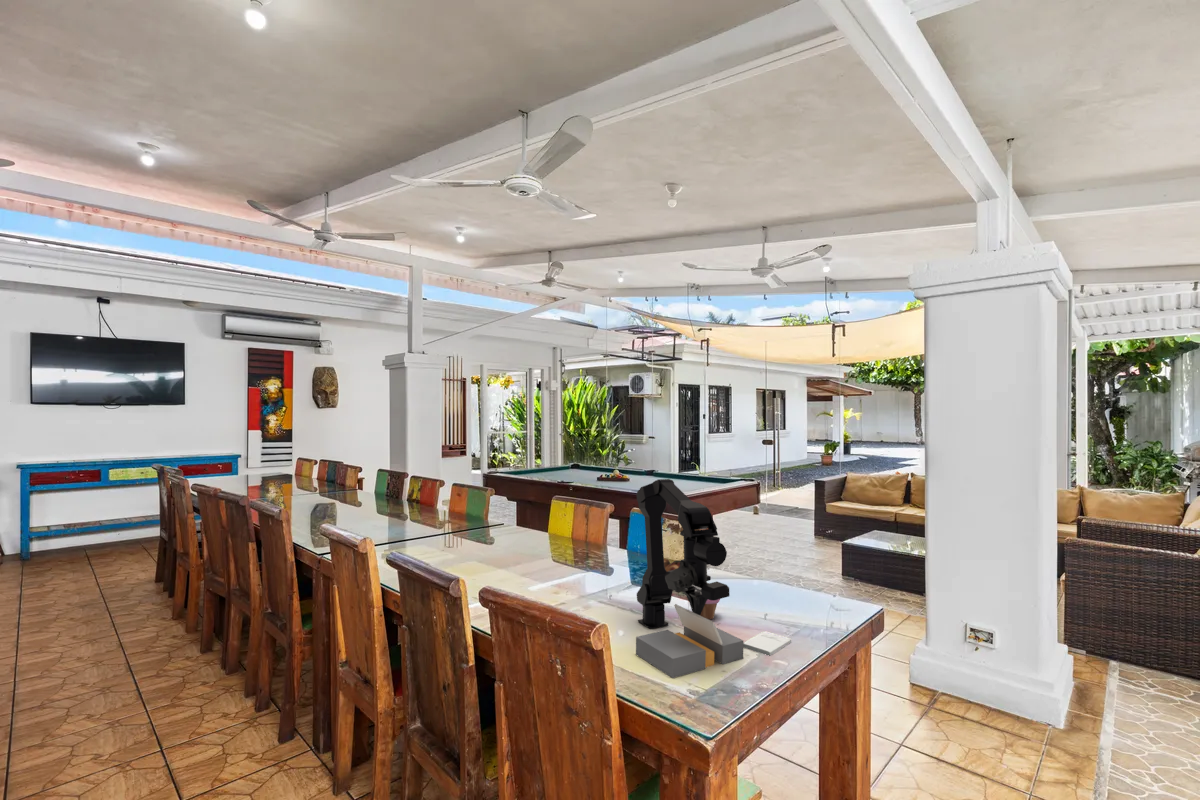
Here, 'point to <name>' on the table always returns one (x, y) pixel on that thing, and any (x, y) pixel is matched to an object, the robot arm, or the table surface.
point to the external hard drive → (766, 643)
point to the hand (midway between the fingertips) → (696, 617)
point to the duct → (686, 651)
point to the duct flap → (698, 624)
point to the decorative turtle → (671, 565)
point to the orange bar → (708, 652)
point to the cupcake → (709, 609)
